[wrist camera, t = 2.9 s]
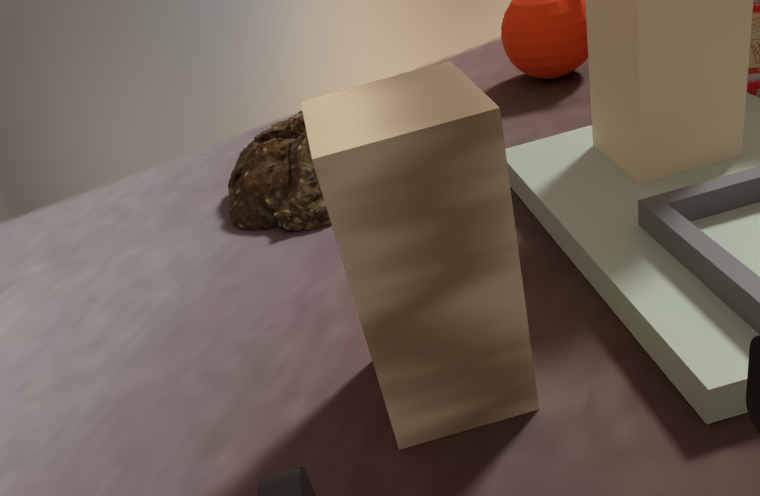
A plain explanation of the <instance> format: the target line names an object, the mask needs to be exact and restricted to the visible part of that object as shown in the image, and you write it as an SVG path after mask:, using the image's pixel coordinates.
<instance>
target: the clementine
mask: <svg viewBox="0 0 760 496" xmlns="http://www.w3.org/2000/svg"><path fill="white" fill-rule="evenodd" d="M501 30H502V32H501V39H502V42H503V46H504V50H505V52H506V54H507V56H508V57H509V59H510V61H511V63H512V64H513V65H515V66H516V67H517V68H518V69H519V70H520V71H522V72H523V73H525V74H528V75H530V76H532V77H535V78H545V79H551V78H557V77H561V76H563V75H566V74H568V73H571V72H572V71H574V70H575V69H577V68H578V67H579V66H580V65H582V64H583V63H584V62H585V61H586V59H587V58H588V42H587V23H586V5H585V0H512V2H511V3H510V5H509V7H508V8H507V10H506V12H505V15H504V18H503V22H502V26H501Z"/></svg>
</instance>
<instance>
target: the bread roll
mask: <svg viewBox="0 0 760 496" xmlns="http://www.w3.org/2000/svg"><path fill="white" fill-rule="evenodd" d="M254 138H255V140H254V141H252V142H251V143H250V144H249V145H248V146H247V147H244V149H243V150H242V152H241V153H240V155H239V158H238V160H237V162H236V165H235V167H234V170H233V171H232V172H231V178H230V180H229V184H228V189H229V193H230V194H231V197H230V198H231V201H232V205H231V208H230V212H229V214H230V220H231V223H232V224H233V225H234V226H235V227H237V228H239V229H243V230H250V231H262V230H270V229H274V228H277V227H281V228H283V229H285V230H288V231H303V230H310V229H314V228H317V227H320V226H325V225H330V224H331V221H330V218H329V214H328V211H327V208H326V204H325V201H324V198H323V194H322V191H321V188H320V184H319V181H318V178H317V174H316V171H315V168H314V164H313V161H312V157H311V152H310V147H309V142H308V137H307V132H306V127H305V122H304V117H303V112H302V111H300V112H299V113H298V114H297V115H295V116H293V117H291V118H289V119H288V120H286V121H280V122H277V123H275V124H273V125H272V127H271V128H269V129H267V130H266V131H263V132H261V133H260V134H258V135H257V136H256V137H254Z"/></svg>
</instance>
